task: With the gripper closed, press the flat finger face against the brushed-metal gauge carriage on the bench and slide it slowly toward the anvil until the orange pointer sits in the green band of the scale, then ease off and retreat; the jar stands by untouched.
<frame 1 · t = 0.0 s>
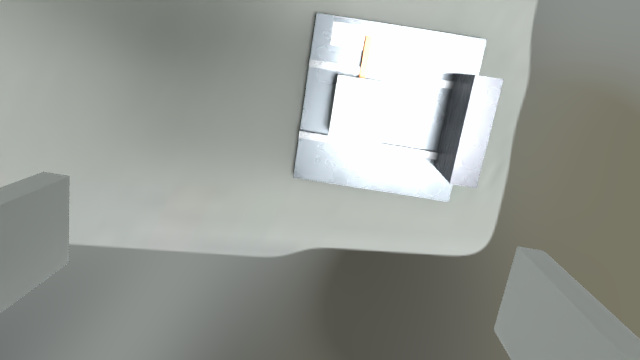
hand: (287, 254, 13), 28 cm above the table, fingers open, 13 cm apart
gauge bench: (384, 110, 40), on the table
gauge carriage: (361, 89, 36), point 4 cm above the table, slide at 0.0 cm
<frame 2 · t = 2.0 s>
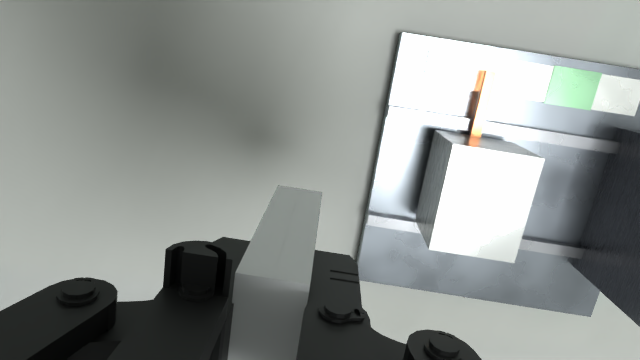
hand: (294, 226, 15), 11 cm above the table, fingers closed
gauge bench: (496, 179, 26), on the table
gauge carriage: (480, 160, 22), point 4 cm above the table, slide at 0.0 cm
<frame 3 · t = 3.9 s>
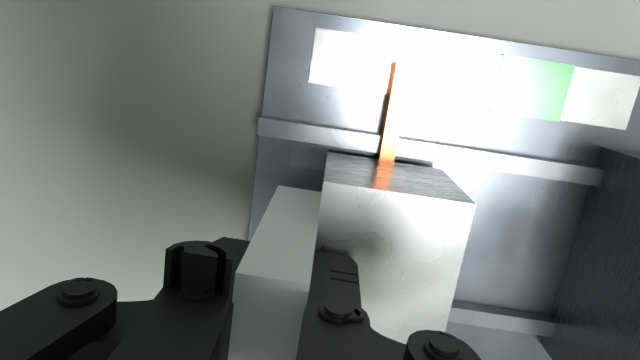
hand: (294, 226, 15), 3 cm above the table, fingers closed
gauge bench: (430, 220, 18), on the table
gauge carriage: (386, 200, 14), point 4 cm above the table, slide at 0.0 cm, touching gripper
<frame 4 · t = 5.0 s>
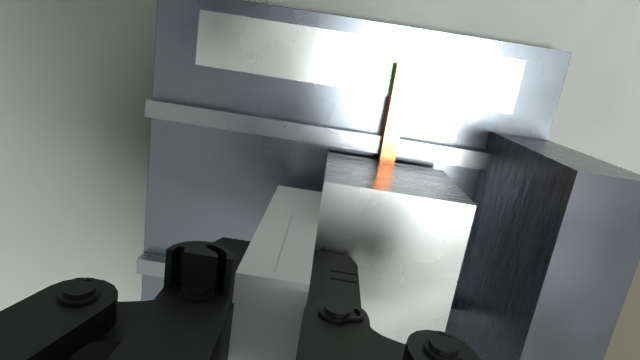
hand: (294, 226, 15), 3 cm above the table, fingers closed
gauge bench: (332, 205, 18), on the table
gauge carriage: (386, 201, 14), point 4 cm above the table, slide at 4.0 cm, touching gripper
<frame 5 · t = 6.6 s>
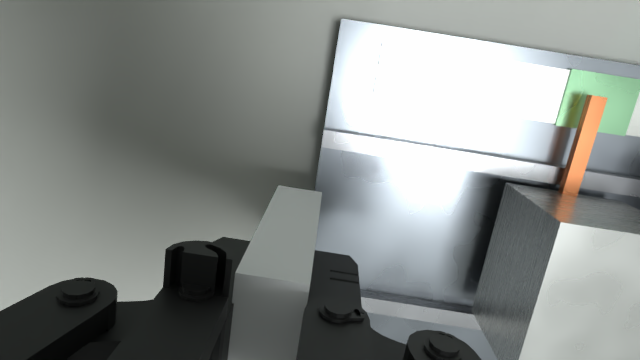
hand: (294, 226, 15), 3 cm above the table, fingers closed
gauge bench: (485, 232, 18), on the table
gauge carriage: (586, 236, 14), point 4 cm above the table, slide at 4.0 cm
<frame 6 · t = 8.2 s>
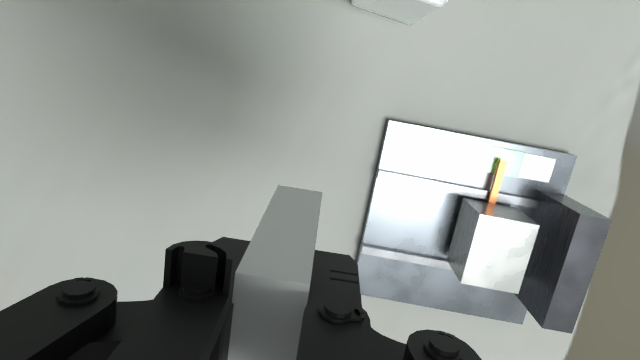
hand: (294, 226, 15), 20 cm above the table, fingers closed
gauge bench: (455, 222, 36), on the table
gauge carriage: (495, 222, 32), point 4 cm above the table, slide at 4.0 cm
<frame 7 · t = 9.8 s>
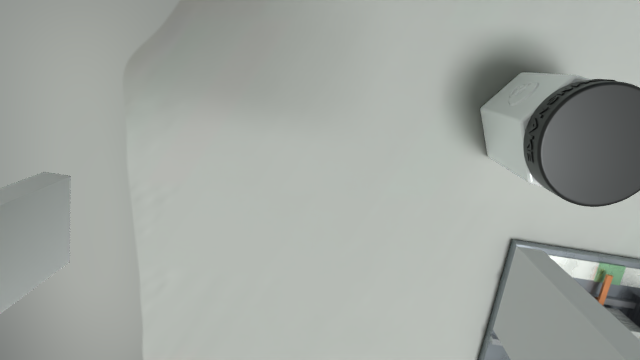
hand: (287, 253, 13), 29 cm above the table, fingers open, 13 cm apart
jar: (526, 122, 40), on the table
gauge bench: (563, 315, 45), on the table
gauge carriage: (606, 325, 41), point 4 cm above the table, slide at 4.0 cm
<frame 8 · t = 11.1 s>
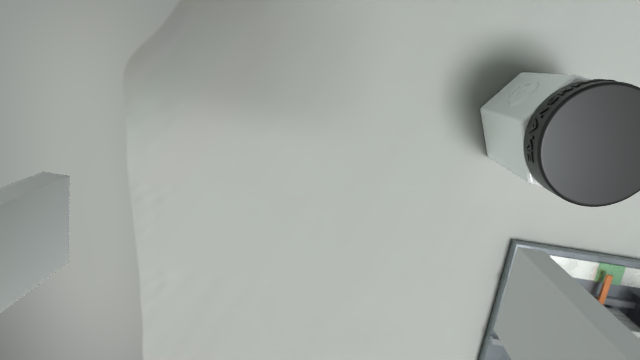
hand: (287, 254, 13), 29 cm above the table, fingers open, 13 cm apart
jar: (526, 122, 40), on the table
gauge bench: (563, 315, 45), on the table
gauge carriage: (606, 325, 41), point 4 cm above the table, slide at 4.0 cm
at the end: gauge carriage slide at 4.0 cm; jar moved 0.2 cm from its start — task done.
